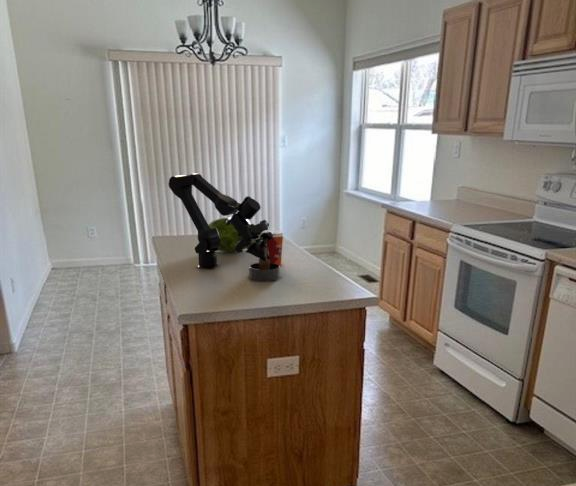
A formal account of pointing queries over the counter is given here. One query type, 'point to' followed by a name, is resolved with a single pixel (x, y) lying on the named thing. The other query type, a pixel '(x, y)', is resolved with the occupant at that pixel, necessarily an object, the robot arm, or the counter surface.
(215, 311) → the counter surface
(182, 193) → the robot arm
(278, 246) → the paper cup
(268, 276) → the tub
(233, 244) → the lettuce
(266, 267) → the brown stepped tower
